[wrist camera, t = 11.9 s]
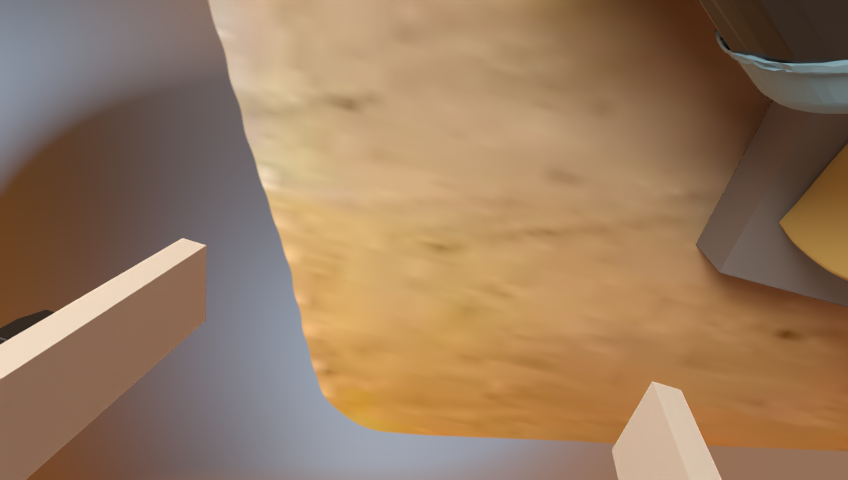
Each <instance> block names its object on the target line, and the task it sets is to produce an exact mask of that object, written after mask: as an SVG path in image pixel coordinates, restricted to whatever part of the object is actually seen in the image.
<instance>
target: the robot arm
mask: <svg viewBox="0 0 848 480" xmlns="http://www.w3.org/2000/svg"><path fill="white" fill-rule="evenodd" d="M698 1H699V3H700V4H701V6H702V8H703V9H704V11H705V12H706V14H707V15H708V17H709V18H710V20H711V21H712V23H713V24H714V26H715V27H716V30H715V37H716V39H717V42H718V44H719V45H720V47H721V48H722V50H723V51H724V52H725V53H728V54H729V55H730V56H731V57H732V58H733V59H735V60H737V61H738V63H739V64H740V65H741V67H742V68H743V69H744V71H745V72H746V73H747V75H748V76H749V78H750V79H751V80H752V82H753V83H754V84H755V86H756V87H757V88H758V89H759V91H760V92H761V93H763V94H764V95H765V96H766V97H769V98H770V99H772V100H774V101H775V102H777V103H778V104H780V105H783V106H786V107H788V108H791V109H795V110H800V111H805V112H811V113H822V114H848V0H698ZM205 320H206V245H203V244H200V243H197V242H193V241H190V240H187V239H183V238H182V239H180V240H178V241H177V242H175V243H173V244H172V245H170V246H168V247H166V248H165V249H163V250H161V251H160V252H158V253H156V254H155V255H153V256H151V257H149V258H148V259H146V260H144V261H142V262H141V263H139V264H137V265H136V266H134V267H132V268H131V269H129V270H127V271H126V272H124V273H122V274H120V275H119V276H117V277H115V278H113V279H112V280H110V281H108V282H107V283H105V284H103V285H101V286H100V287H98V288H97V289H95V290H93V291H91V292H89V293H88V294H86V295H84V296H83V297H81V298H79V299H77V300H76V301H74V302H72V303H71V304H69V305H67V306H65V307H64V308H62V309H60V310H59V311H57V312H51V311H49V310H44V311H41V312H38V313H35V314H32V315H29V316H25V317H22V318H19V319H16V320H15V321H13V322H11V323H9V324H8V325H6V326H4V327H2V328H0V480H26V479H27V478H28V477H29V476H30V475H31V474H32V473H34V472H35V471H36V470H37V469H38V468H39V467H40V466H42V465H43V464H44V463H45V462H46V461H47V460H48V459H50V458H51V457H52V456H53V455H54V454H55V453H56V452H57V451H59V450H60V449H61V448H62V447H63V446H64V445H65V444H66V443H68V442H69V441H70V440H71V439H72V438H73V437H74V436H75V435H77V434H78V433H79V432H80V431H81V430H82V429H83V428H84V427H86V426H87V425H88V424H89V423H90V422H91V421H92V420H94V419H95V418H96V417H97V416H98V415H99V414H100V413H101V412H103V411H104V410H105V409H106V408H107V407H108V406H109V405H110V404H112V403H113V402H114V401H115V400H116V399H117V398H118V397H120V396H121V395H122V394H123V393H124V392H125V391H126V390H127V389H129V388H130V387H131V386H132V385H133V384H134V383H135V382H136V381H137V380H139V379H140V378H141V377H142V376H143V375H144V374H145V373H147V372H148V371H149V370H150V369H151V368H152V367H153V366H154V365H155V364H157V363H158V362H159V361H160V360H161V359H162V358H163V357H165V356H166V355H167V354H168V353H169V352H170V351H171V350H173V348H175V347H176V346H177V345H178V344H179V343H180V342H182V341H183V340H184V339H185V338H186V337H187V336H188V335H190V334H191V333H192V332H193V331H194V330H195V329H196V328H197V327H199V326H200V325H201V324H202V323H203V322H204V321H205ZM612 453H613V458H614V462H615V467H616V471H617V476H618V480H722V479H721V477H720V475H719V473H718V470H717V468H716V466H715V464H714V462H713V459H712V457H711V455H710V453H709V451H708V448H707V446H706V444H705V442H704V440H703V437H702V435H701V433H700V431H699V429H698V426H697V424H696V422H695V420H694V418H693V415H692V413H691V411H690V409H689V407H688V404H687V402H686V400H685V398H684V396H683V393H682V391H681V390H679V389H676V388H673V387H669V386H666V385H663V384H660V383H656V382H653V381H652V383H651V385H650V386H649V388H648V390H647V391H646V393H645V395H644V396H643V398H642V400H641V402H640V403H639V405H638V407H637V408H636V410H635V412H634V413H633V415H632V417H631V418H630V420H629V422H628V424H627V425H626V427H625V429H624V430H623V432H622V434H621V435H620V437H619V439H618V441H617V442H616V444H615V446H614V447H613V449H612Z"/></svg>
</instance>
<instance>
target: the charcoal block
mask: <svg viewBox="0 0 848 480" xmlns="http://www.w3.org/2000/svg"><path fill="white" fill-rule="evenodd" d="M847 143H848V114H822V113H811V112H805V111H800V110H795V109H791V108H788V107H786V106H783V105H780V104H778V103H777V102H775V101H774V100H773V101H772V103H771V105H770V107H769V108H768V110H767V112H766V114H765V116H764V118H763V120H762V121H761V123H760V125H759V127H758V129H757V131H756V133H755V135H754V136H753V138H752V140H751V142H750V144H749V146H748V148H747V150H746V151H745V153H744V155H743V157H742V159H741V161H740V163H739V165H738V166H737V168H736V170H735V172H734V174H733V176H732V178H731V180H730V181H729V183H728V185H727V187H726V189H725V191H724V193H723V194H722V196H721V198H720V200H719V202H718V204H717V206H716V208H715V209H714V211H713V213H712V215H711V217H710V219H709V221H708V223H707V224H706V226H705V228H704V230H703V232H702V234H701V236H700V238H699V239H698V241H697V243H696V245H697V247H698V248H699V249H700V250H701V251H702V253H703V254H704V255H705V256H706V257H707V258H708V260H709V261H710V262H711V263H712V264H713V266H714V267H715V268H716V269H717V270H718V272H719V273H723V274H727V275H730V276H734V277H738V278H742V279H745V280H749V281H753V282H756V283H760V284H764V285H767V286H771V287H775V288H779V289H782V290H786V291H790V292H793V293H797V294H801V295H805V296H808V297H812V298H816V299H819V300H823V301H827V302H831V303H834V304H838V305H842V306H845V307H848V281H847V280H845V279H842V278H840V277H838V276H837V275H835V274H833V273H831V272H829V271H828V270H826V269H824V268H823V267H822V266H820V265H819V264H818V263H816V262H815V261H814V260H812V259H811V258H810V257H809V256H807V255H806V254H805V253H804V252H803V251H802V250H800V249H799V248H798V247H797V246H796V245H795V244H794V243H793V242H792V241H791V239H790V238H789V237H788V235H787V234H786V232H785V231H784V230H783V228H782V227H781V225H780V224H779V221H780V220H781V219H782V218H783V217H784V216H785V215H786V214H787V213H788V212H789V210H790V209H791V208H792V207H793V206H794V205H795V204H796V203H797V202H798V201H799V199H800V198H801V197H802V196H803V195H804V194H805V192H806V191H807V190H808V189H809V188H810V186H811V185H812V184H813V183H814V182H815V180H816V179H817V178H818V177H819V176H820V174H821V173H822V172H823V171H824V170H825V169H826V167H827V166H828V165H829V164H830V163H831V161H832V160H833V159H834V158H835V157H836V156H837V155H838V153H839V152H840V151H841V150H842V149H843V148H844V147H845V145H846V144H847Z"/></svg>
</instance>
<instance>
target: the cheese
mask: <svg viewBox="0 0 848 480" xmlns="http://www.w3.org/2000/svg"><path fill="white" fill-rule="evenodd" d="M779 224H780V225H781V227H782V228H783V230H784V231H785V232H786V234H787V235H788V237H789V238H790V239H791V241H792V242H793V243H794V244H795V245H796V246H797V247H798V248H799V249H800V250H802V251H803V252H804V253H805V254H806V255H807V256H809V257H810V258H811V259H812V260H814V261H815V262H816V263H818V264H819V265H820V266H822V267H823V268H824V269H826V270H828V271H829V272H831V273H833V274H835V275H837V276H838V277H840V278H842V279H845V280H847V281H848V143H847V144H846V145H845V147H844V148H843V149H842V150H841V151H840V152H839V153H838V155H837V156H836V157H835V158H834V159H833V160H832V161H831V163H830V164H829V165H828V166H827V167H826V169H825V170H824V171H823V172H822V173H821V174H820V176H819V177H818V178H817V179H816V180H815V182H814V183H813V184H812V185H811V186H810V188H809V189H808V190H807V191H806V192H805V194H804V195H803V196H802V197H801V198H800V199H799V201H798V202H797V203H796V204H795V205H794V206H793V207H792V208H791V209H790V210H789V212H788V213H787V214H786V215H785V216H784V217H783V218H782V219H781V220H780V221H779Z"/></svg>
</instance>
